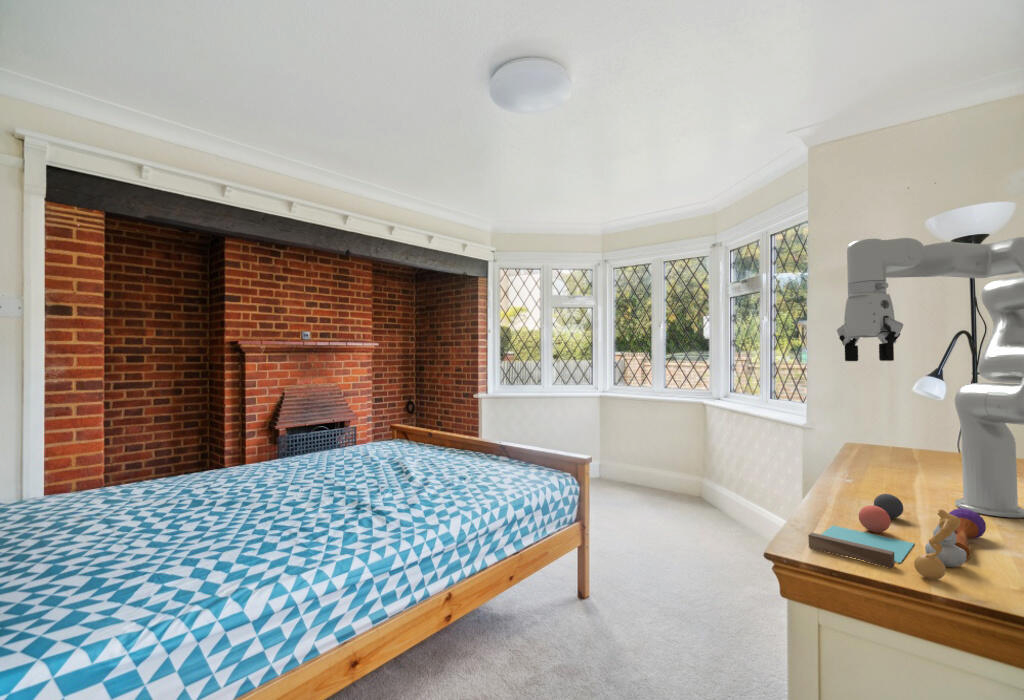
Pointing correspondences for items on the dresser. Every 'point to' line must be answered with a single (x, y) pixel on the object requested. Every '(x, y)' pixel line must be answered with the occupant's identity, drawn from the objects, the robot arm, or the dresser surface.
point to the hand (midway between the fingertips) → (868, 360)
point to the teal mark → (871, 541)
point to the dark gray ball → (889, 505)
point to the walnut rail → (852, 550)
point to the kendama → (968, 527)
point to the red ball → (874, 518)
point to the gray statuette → (948, 550)
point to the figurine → (936, 548)
